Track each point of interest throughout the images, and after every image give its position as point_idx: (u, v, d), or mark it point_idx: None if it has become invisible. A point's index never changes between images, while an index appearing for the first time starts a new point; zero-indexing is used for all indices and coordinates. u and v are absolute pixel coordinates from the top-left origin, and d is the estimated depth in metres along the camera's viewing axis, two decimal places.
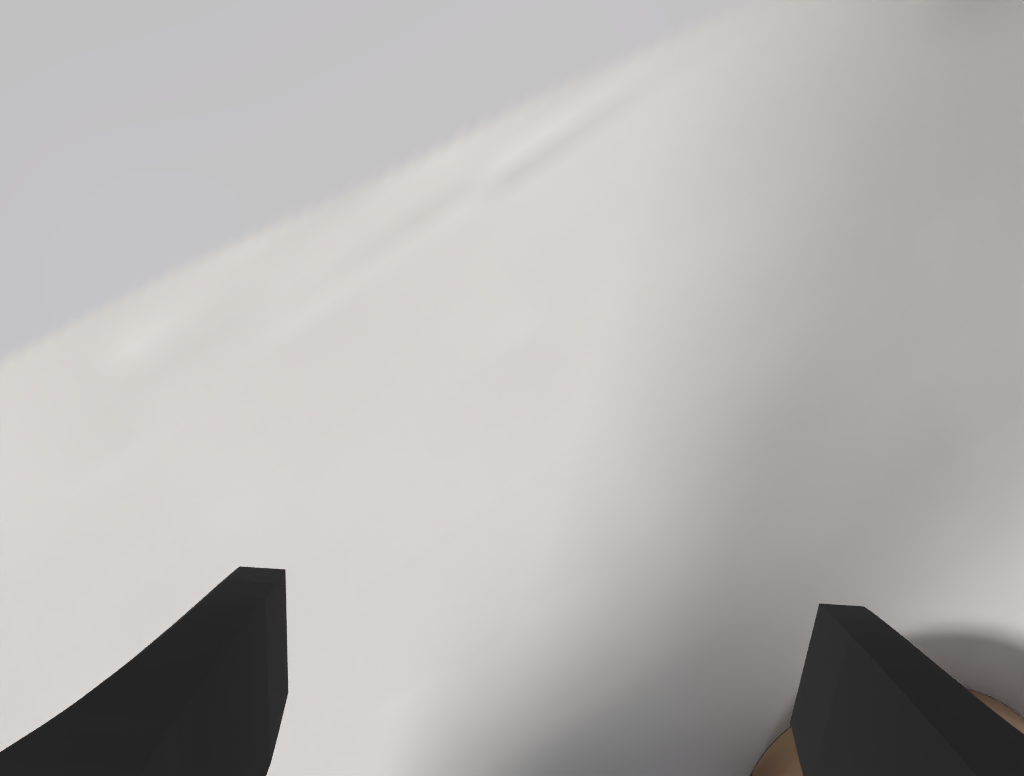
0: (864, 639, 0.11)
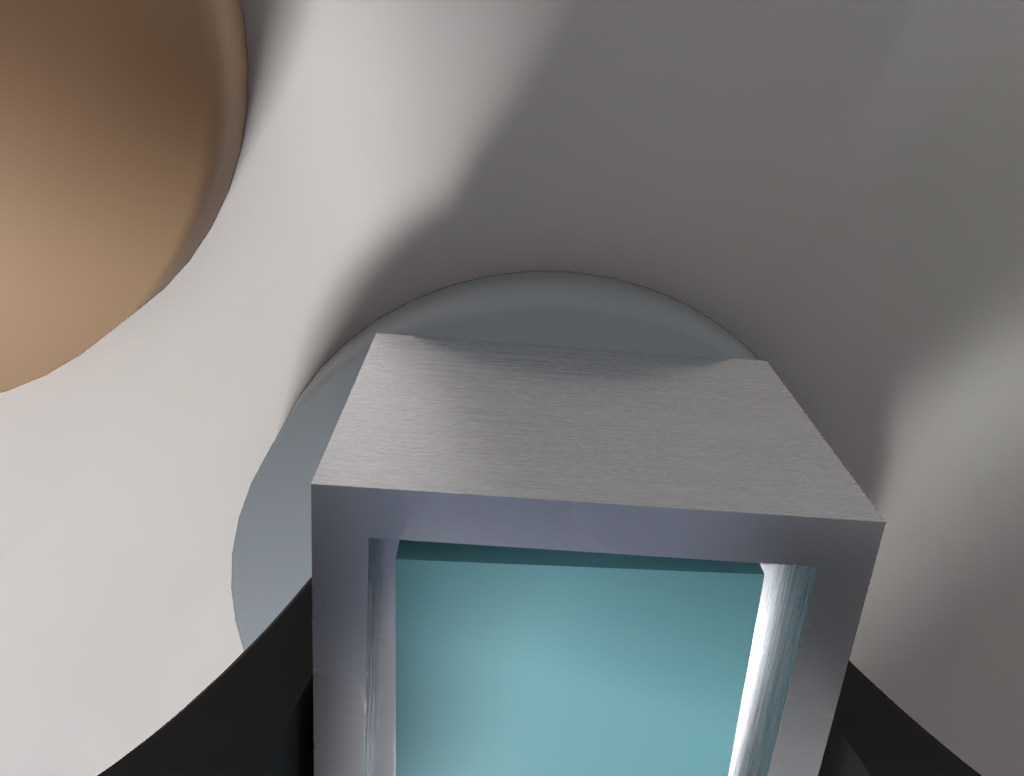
0: None
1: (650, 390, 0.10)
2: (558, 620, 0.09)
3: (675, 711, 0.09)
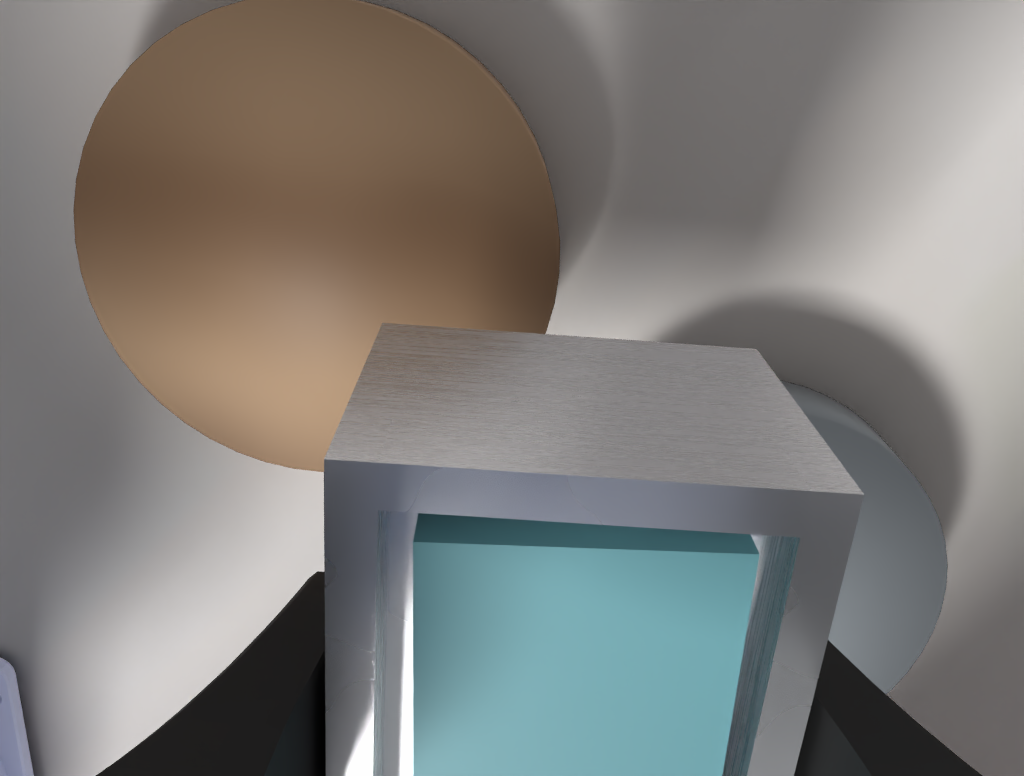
0: None
1: (644, 375, 0.11)
2: (566, 599, 0.09)
3: (677, 684, 0.09)
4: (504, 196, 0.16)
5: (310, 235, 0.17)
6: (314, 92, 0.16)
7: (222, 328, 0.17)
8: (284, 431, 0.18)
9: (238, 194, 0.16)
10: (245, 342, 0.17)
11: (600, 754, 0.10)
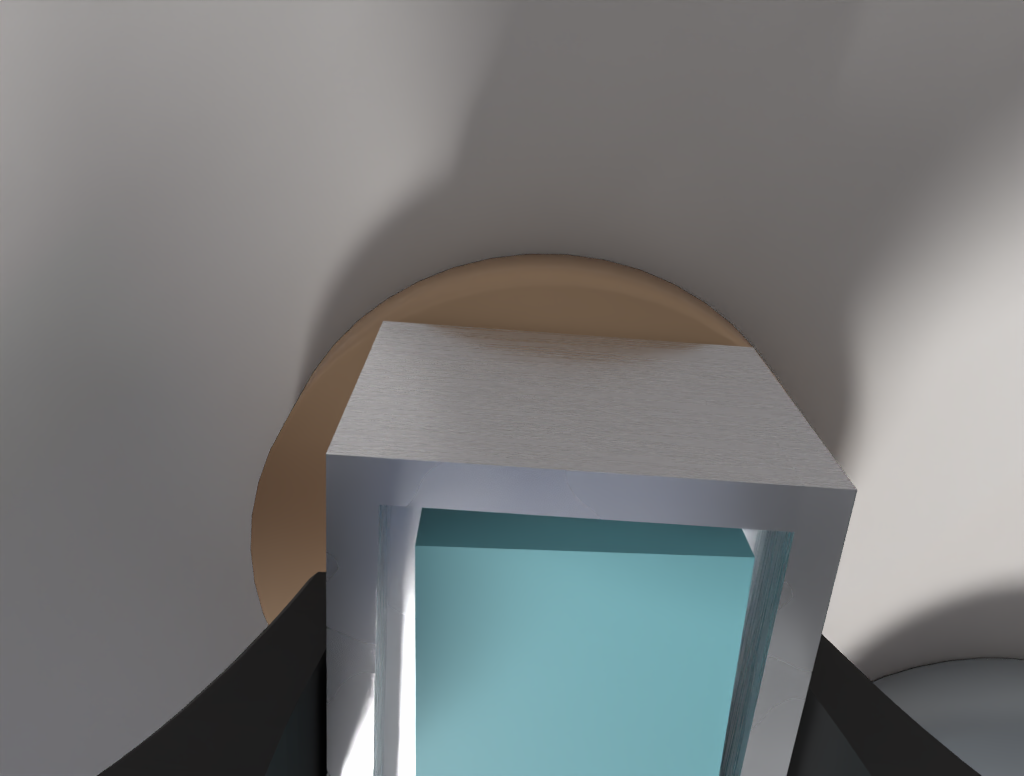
0: None
1: (641, 373, 0.11)
2: (565, 601, 0.09)
3: (674, 685, 0.10)
4: None
5: None
6: None
7: None
8: None
9: None
10: None
11: (598, 753, 0.10)
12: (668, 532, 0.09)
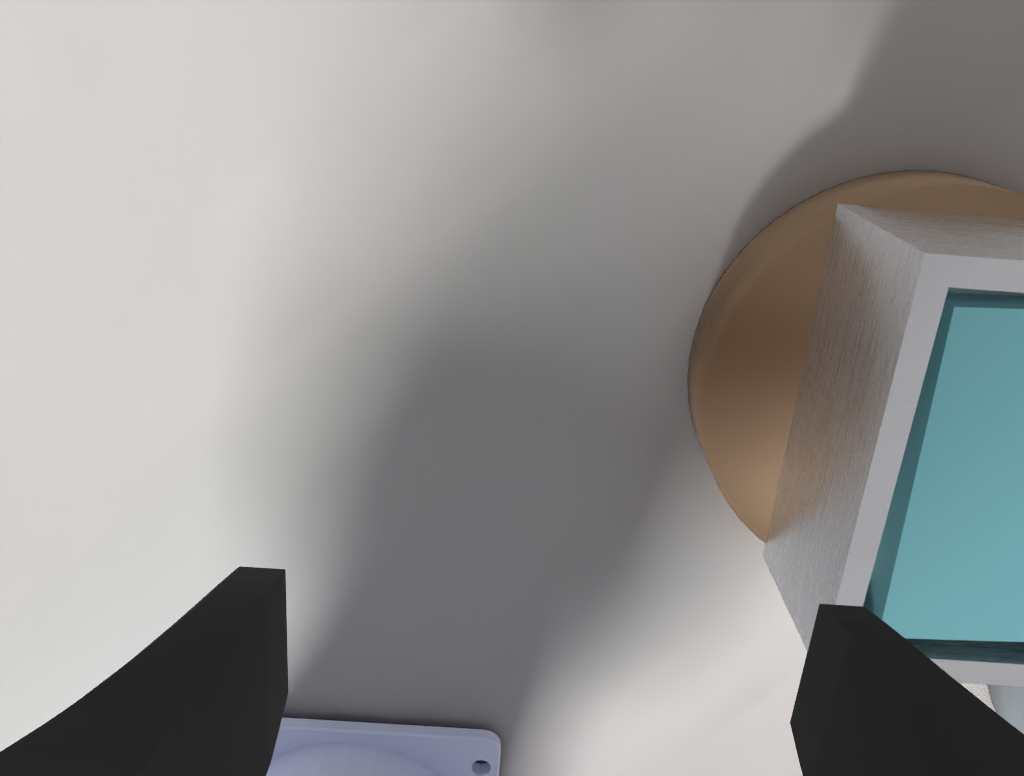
0: (864, 639, 0.11)
1: None
2: None
3: None
4: None
5: None
6: None
7: None
8: None
9: None
10: None
11: None
12: None
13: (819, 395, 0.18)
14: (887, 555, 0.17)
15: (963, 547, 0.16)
